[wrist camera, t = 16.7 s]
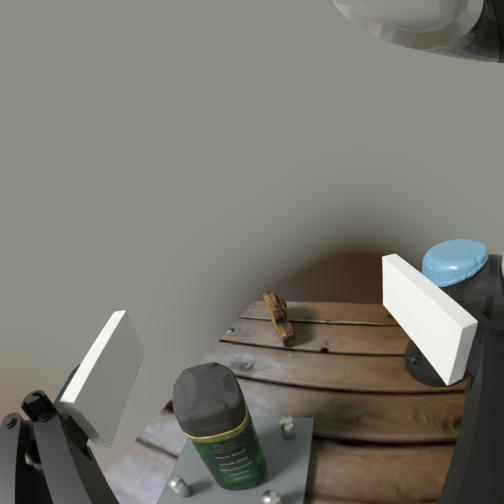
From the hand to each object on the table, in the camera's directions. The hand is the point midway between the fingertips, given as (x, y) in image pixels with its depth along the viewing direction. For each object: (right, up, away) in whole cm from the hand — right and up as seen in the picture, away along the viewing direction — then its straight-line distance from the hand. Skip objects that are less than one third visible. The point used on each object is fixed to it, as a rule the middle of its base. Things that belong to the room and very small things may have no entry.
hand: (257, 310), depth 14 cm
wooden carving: (+7, -16, +54) cm, 57 cm away
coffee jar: (-2, -28, +21) cm, 35 cm away
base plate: (-2, -30, +21) cm, 37 cm away
